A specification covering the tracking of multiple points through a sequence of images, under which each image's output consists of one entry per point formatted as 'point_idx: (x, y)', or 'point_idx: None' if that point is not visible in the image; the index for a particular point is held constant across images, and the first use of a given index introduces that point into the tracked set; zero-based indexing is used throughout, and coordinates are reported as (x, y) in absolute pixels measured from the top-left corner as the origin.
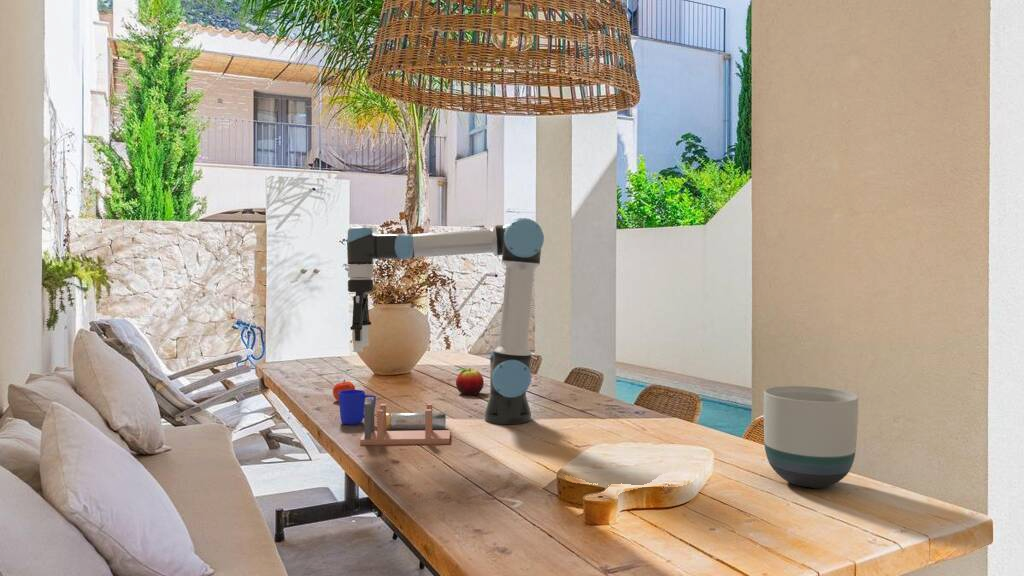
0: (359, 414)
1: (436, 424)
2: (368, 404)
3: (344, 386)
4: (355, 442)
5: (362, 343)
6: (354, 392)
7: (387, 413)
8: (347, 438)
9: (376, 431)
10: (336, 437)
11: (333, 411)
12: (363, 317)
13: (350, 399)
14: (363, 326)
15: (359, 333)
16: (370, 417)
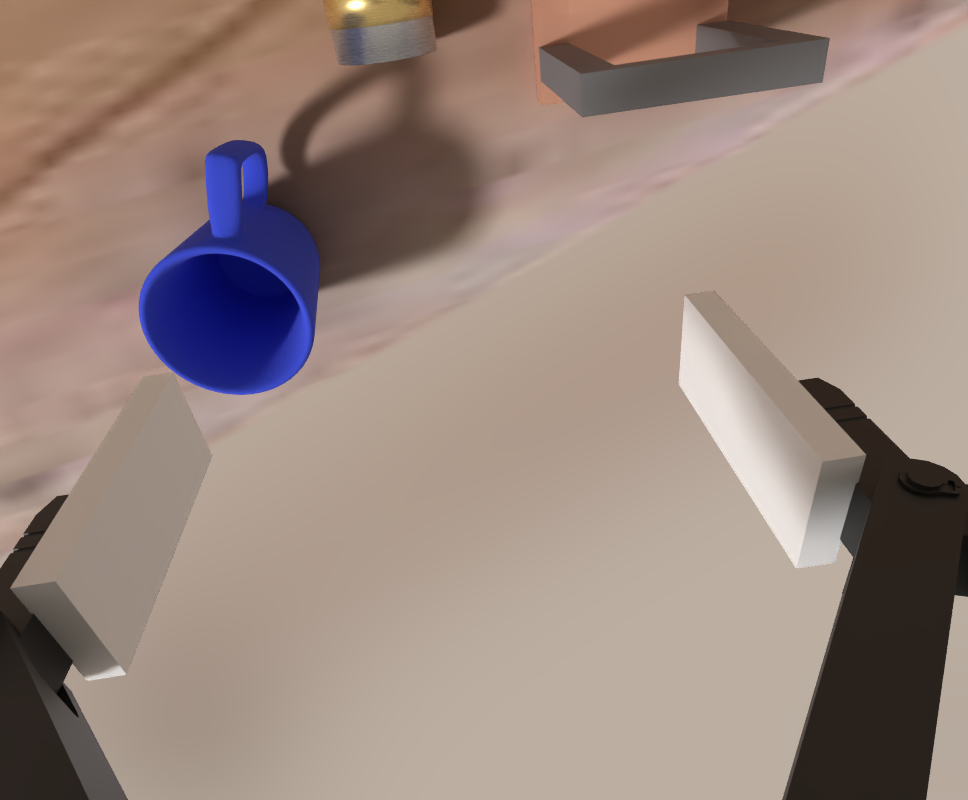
0: (281, 220)
1: None
2: (826, 50)
3: None
4: (658, 114)
5: (756, 341)
6: (160, 323)
7: (381, 2)
8: (579, 178)
9: (548, 31)
10: (559, 235)
11: (41, 412)
12: (100, 773)
13: (311, 296)
14: (101, 622)
15: (890, 442)
16: (764, 32)
